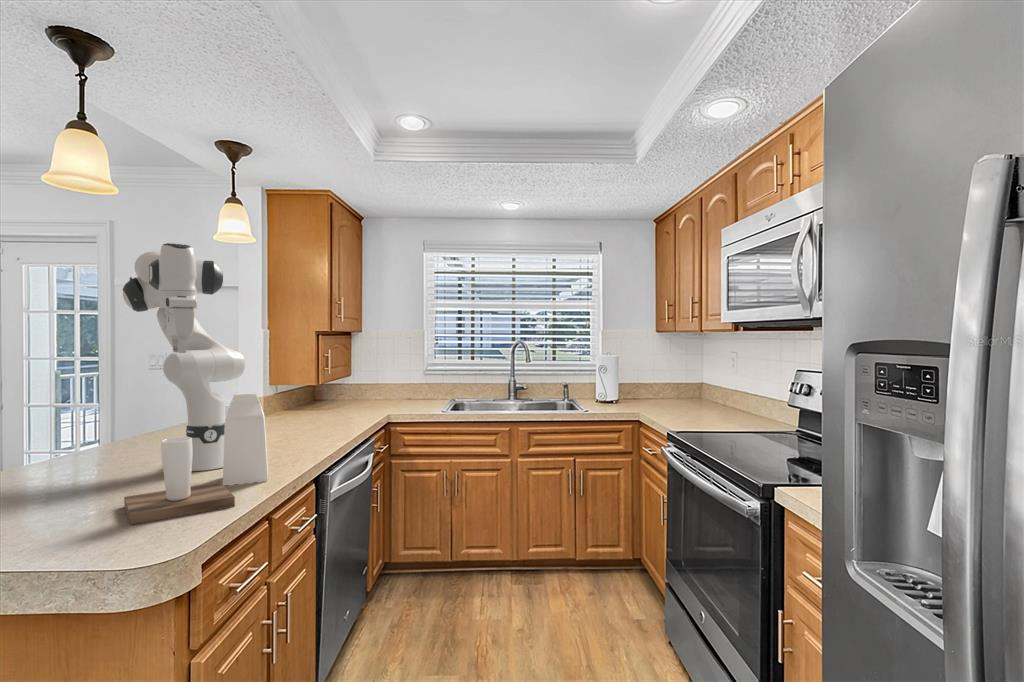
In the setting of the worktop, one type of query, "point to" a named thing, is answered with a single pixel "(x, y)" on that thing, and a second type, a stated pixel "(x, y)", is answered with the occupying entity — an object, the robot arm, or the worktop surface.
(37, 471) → the worktop surface
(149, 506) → the walnut board
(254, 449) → the milk
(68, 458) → the worktop surface
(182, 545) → the worktop surface
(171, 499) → the drinking glass
